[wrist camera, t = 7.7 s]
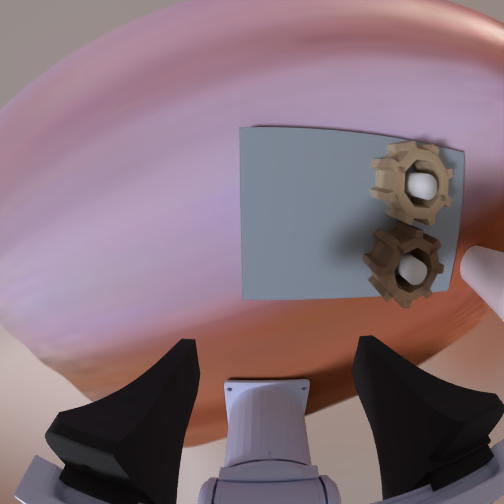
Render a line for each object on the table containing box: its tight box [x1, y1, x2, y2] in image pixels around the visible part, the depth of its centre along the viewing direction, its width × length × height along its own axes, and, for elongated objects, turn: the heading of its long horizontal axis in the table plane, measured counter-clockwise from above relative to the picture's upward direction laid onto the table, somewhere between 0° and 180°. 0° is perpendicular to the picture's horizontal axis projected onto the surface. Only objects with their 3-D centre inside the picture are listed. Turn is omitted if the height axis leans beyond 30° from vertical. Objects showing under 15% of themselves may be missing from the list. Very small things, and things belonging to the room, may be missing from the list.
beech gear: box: [369, 141, 454, 226], centre depth 16 cm, size 5×5×3 cm
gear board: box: [239, 127, 464, 300], centre depth 17 cm, size 12×18×5 cm, turn 90°
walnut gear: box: [363, 221, 444, 308], centre depth 17 cm, size 5×5×3 cm
